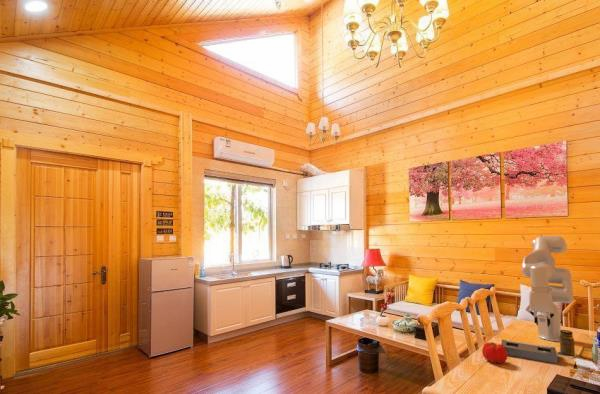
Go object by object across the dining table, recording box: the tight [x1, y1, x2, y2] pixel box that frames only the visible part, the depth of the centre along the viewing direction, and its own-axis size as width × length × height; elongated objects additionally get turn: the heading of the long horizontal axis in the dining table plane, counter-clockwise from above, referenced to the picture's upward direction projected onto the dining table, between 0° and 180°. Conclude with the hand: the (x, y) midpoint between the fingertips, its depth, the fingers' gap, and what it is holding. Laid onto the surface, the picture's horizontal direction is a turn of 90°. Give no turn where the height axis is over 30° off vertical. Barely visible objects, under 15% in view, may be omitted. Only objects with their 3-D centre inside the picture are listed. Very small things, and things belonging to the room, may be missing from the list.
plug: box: [537, 314, 548, 335], centre depth 176 cm, size 5×4×9 cm
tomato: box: [481, 341, 508, 364], centre depth 170 cm, size 11×11×9 cm
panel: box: [500, 339, 559, 365], centre depth 179 cm, size 14×24×4 cm, turn 57°
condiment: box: [556, 329, 579, 359], centre depth 180 cm, size 7×8×12 cm
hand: (542, 325), depth 176 cm, fingers closed on plug, 4 cm apart
